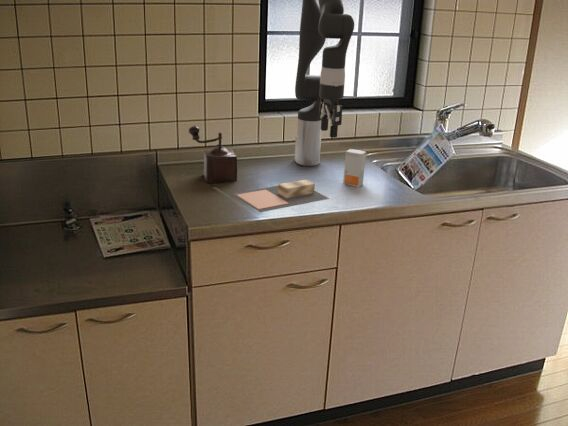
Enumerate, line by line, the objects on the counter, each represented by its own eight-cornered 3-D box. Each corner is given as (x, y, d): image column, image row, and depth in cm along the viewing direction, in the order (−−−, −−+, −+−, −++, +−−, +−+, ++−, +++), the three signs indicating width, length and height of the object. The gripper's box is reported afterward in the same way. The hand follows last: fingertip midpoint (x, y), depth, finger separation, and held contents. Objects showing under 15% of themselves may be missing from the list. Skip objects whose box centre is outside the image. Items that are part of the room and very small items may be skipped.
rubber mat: (232, 195, 196) (232, 193, 196) (298, 183, 209) (298, 181, 209) (260, 213, 182) (260, 211, 182) (329, 200, 196) (329, 197, 195)
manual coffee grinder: (231, 172, 218) (232, 123, 211) (237, 182, 208) (238, 131, 201) (188, 174, 214) (187, 124, 207) (192, 184, 204) (191, 132, 197)
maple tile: (286, 198, 194) (286, 188, 193) (278, 193, 198) (278, 184, 197) (314, 192, 200) (314, 183, 198) (305, 188, 203) (306, 179, 202)
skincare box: (342, 184, 211) (345, 151, 206) (347, 181, 214) (350, 148, 210) (358, 187, 208) (362, 154, 204) (363, 184, 212) (366, 151, 207)
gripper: (313, 78, 190) (310, 128, 196) (328, 86, 178) (324, 140, 184) (335, 78, 192) (332, 127, 198) (352, 86, 180) (347, 139, 186)
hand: (328, 133), depth 191 cm, fingers open, 8 cm apart
